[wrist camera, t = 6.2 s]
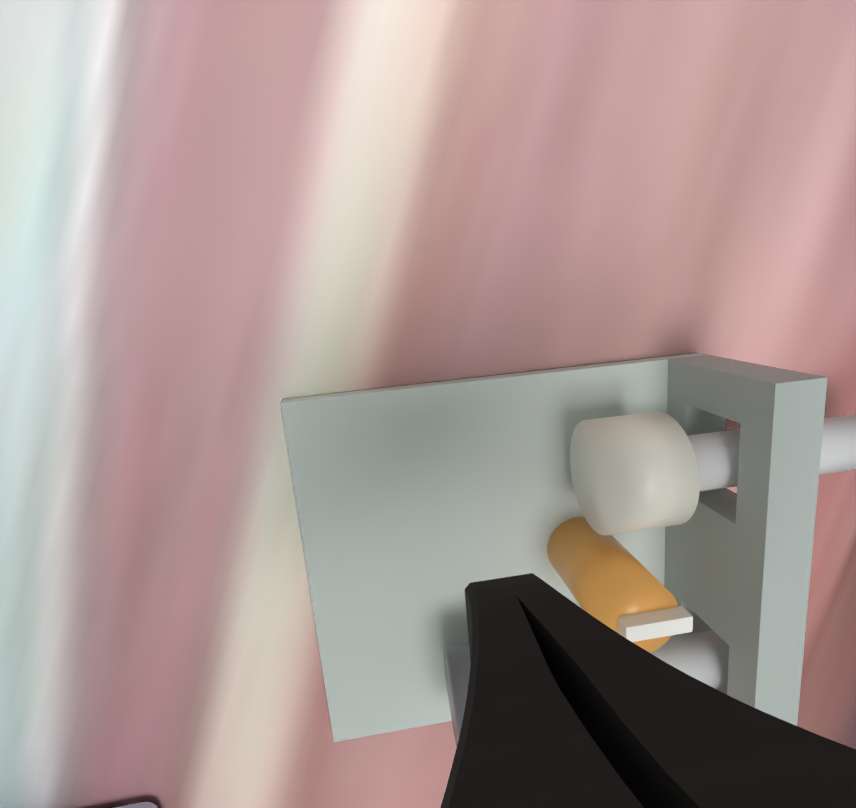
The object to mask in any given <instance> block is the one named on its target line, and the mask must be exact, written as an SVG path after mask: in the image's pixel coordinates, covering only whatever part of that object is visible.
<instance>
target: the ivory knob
mask: <svg viewBox="0 0 856 808" xmlns="http://www.w3.org/2000/svg"><path fill="white" fill-rule="evenodd" d="M739 444H740V429H735V430H727V431H719V432H712V433H704V434H696V435H688V436H687V435H686V433H685V431H684V430H683V428H682V427H681V426H680V425H679V423H678V422H677V421H676V420H675V419H674V418H672V417H671V416H670V415H668V414H666V413H664V412H660V411H655V412H647V413H639V414H630V415H622V416H614V417H606V418H598V419H590V420H583V421H581V422H579V423H578V424H577V425H576V427H575V429H574V431H573V434H572V437H571V443H570V469H571V477H572V482H573V487H574V491H575V495H576V498H577V501H578V504H579V506H580V509H581V511H582V513H583V515H584V517H585V519H586V521H587V522H588V524H589V525H590V526H591V527H592V529H593V530H594V531H596V532H597V533H598V534H600V535H612V534H619V533H625V532H632V531H639V530H646V529H652V528H659V527H666V526H673V525H679V524H683V523H685V522H687V521H688V520H689V519H690V518H691V517H692V515H693V514H694V512H695V510H696V507H697V504H698V500H699V492H700V491H706V490H713V489H720V488H728V487H735V486H737V484H738V464H739ZM855 469H856V414H851V415H843V416H835V417H828V418H824V423H823V435H822V446H821V458H820V469H819V474H826V473H833V472H840V471H848V470H855Z"/></svg>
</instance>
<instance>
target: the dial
mask: <svg viewBox="0 0 856 808" xmlns="http://www.w3.org/2000/svg"><path fill="white" fill-rule="evenodd" d="M547 554H548V558H549V561H550V563H551V564H552V566H553V567H554V569H555V570H556V572H557V573H558V574H559V576H560V577H561V579H562V580H563V582H564V583H565V585H566V586H567V587H568V589H569V590H570V592H571V593H572V595H573V596H574V597H575V599H576V600H577V602H578V603H579V605H580V606H581V608H582V609H583V610H585V611H586V612H587V613H589V614H590V615H592V616H593V617H595V618H596V619H598V620H599V621H600V622H602V623H603V624H605V625H606V626H608V627H609V628H611V629H612V630H614V631H615V632H617V633H619V634H620V635H622V636H623V637H625V638H626V639H628V640H629V641H631V642H633V643H634V644H636V645H638V646H639V647H641V648H643V649H644V650H646V651H648V652H649V653H651V652H653V651H655V650H657V649H658V648H660V647H661V646H662V645H664V644H665V643H666V642H667V641H668V640H669V638H670V637H671V636H672V635H677V634H683V633H689V632H692V631H693V616H692V615H691V614H690V613H689V612H688V611H687V610H686V609H685V608H684V607H683V606H680V607H678V604H677V601H676V599H675V597H674V596H673V595H672V593H671V592H670V591H669V590H668V589H666V588H665V587H664V586H663V585H662V584H661V583H660V582H659V581H658V580H657V579H656V578H655V577H654V576H653V575H652V574H651V573H650V572H649V571H648V570H647V569H646V568H645V567H644V566H643V565H642V564H641V563H640V562H639V561H638V560H637V559H636V558H635V557H634V556H633V555H632V554H631V553H630V552H629V551H628V550H627V549H626V548H625V547H624V546H622V545H621V544H620V543H619V542H618V541H617V540H616V539H615V538H614V537H613V536H612V535H600V534H598V533H597V532H596V531H594V530H593V529H592V527H591V526H590V525H589V524H588V522H587V521H586V519H585V517H575V518H571V519H569V520H567V521H565V522H563V523H561V524H560V525H559V526H558V527H557V528H556V529H555V530H554V531H553V533H552V534H551V536H550V538H549V541H548V546H547Z"/></svg>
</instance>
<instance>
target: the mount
mask: <svg viewBox="0 0 856 808" xmlns="http://www.w3.org/2000/svg"><path fill="white" fill-rule="evenodd" d="M827 378H828V377H823V376H817V375H812V374H807V373H801V372H796V371H791V370H785V369H780V368H775V367H769V366H764V365H759V364H753V363H748V362H743V361H737V360H732V359H727V358H721V357H716V356H711V355H705V354H700V353H692V354H683V355H674V356H665V357H656V358H647V359H638V360H629V361H620V362H611V363H602V364H593V365H584V366H575V367H566V368H557V369H548V370H539V371H530V372H521V373H513V374H504V375H495V376H486V377H477V378H468V379H459V380H450V381H441V382H432V383H423V384H414V385H405V386H396V387H387V388H378V389H369V390H360V391H351V392H342V393H333V394H325V395H316V396H307V397H298V398H289V399H283V400H282V401H281V403H280V405H281V411H282V417H283V423H284V430H285V436H286V442H287V449H288V455H289V461H290V468H291V474H292V480H293V487H294V493H295V499H296V506H297V512H298V518H299V525H300V531H301V537H302V544H303V550H304V556H305V563H306V569H307V575H308V582H309V588H310V594H311V601H312V607H313V613H314V620H315V626H316V632H317V639H318V645H319V651H320V658H321V664H322V670H323V677H324V683H325V689H326V696H327V702H328V708H329V715H330V721H331V727H332V734H333V740H334V742H338V741H343V740H349V739H354V738H360V737H365V736H371V735H376V734H382V733H387V732H393V731H398V730H404V729H409V728H415V727H420V726H426V725H431V724H437V723H442V722H448V721H452V718H451V711H450V705H449V698H448V691H447V683H446V675H445V665H444V647H446V646H452V645H458V644H464V643H469V638H468V626H467V614H466V602H465V590H464V589H465V588H466V587H467V586H468V584H469V583H472V582H478V581H485V580H491V579H497V578H504V577H510V576H517V575H523V574H530V573H533V574H534V575H536V576H537V577H539V578H540V579H542V580H543V581H544V582H546V583H547V584H549V585H550V586H551V587H553V588H554V589H555V590H557V591H558V592H560V593H561V594H562V595H564V596H565V597H566V598H568V599H569V600H571V601H572V602H573V603H575V604H576V605H578V606H579V607H580V608H581V606H580V605H579V603H578V602H577V600H576V599H575V597H574V596H573V595H572V593H571V592H570V590H569V589H568V587H567V586H566V585H565V583H564V582H563V580H562V579H561V577H560V576H559V574H558V573H557V572H556V570H555V569H554V567H553V566H552V564H551V563H550V561H549V558H548V554H547V546H548V541H549V538H550V536H551V534H552V533H553V531H554V530H555V529H556V528H557V527H558V526H559V525H560V524H561V523H563V522H565V521H567V520H569V519H571V518H575V517H584V515H583V513H582V511H581V509H580V506H579V504H578V501H577V498H576V495H575V491H574V487H573V482H572V477H571V469H570V443H571V437H572V434H573V431H574V429H575V427H576V425H577V424H578V423H579V422H581V421H583V420H590V419H598V418H606V417H614V416H622V415H630V414H639V413H647V412H655V411H660V412H664V413H666V414H668V415H670V416H671V417H672V418H674V419H675V420H676V421H677V422H678V423H679V425H680V426H681V427H682V428H683V430H684V431H685V433H686V435H687V436H688V435H696V434H704V433H712V432H719V431H726V419H729V420H732V421H735V422H738V423H741V424H740V444H739V464H738V484H737V494H736V493H734V492H732V491H731V490H729V489H727V488H720V489H713V490H706V491H700V492H699V500H698V504H697V507H696V510H695V512H694V514H693V515H692V517H691V518H690V519H689V520H688V521H687V522H685V523H683V524H679V525H673V526H666V527H659V528H652V529H646V530H639V531H632V532H625V533H619V534H612V536H613V537H614V538H615V539H616V540H617V541H618V542H619V543H620V544H621V545H622V546H624V547H625V548H626V549H627V550H628V551H629V552H630V553H631V554H632V555H633V556H634V557H635V558H636V559H637V560H638V561H639V562H640V563H641V564H642V565H643V566H644V567H645V568H646V569H647V570H648V571H649V572H650V573H651V574H652V575H653V576H654V577H655V578H656V579H657V580H658V581H659V582H660V583H661V584H662V585H663V586H664V587H665V588H666V589H668V590H669V591H670V592H671V593H672V595H673V596H674V597H675V599H676V601H677V604H678V607H680V606H683V607H684V608H685V609H686V610H687V611H688V612H689V613H690V614H691V615H692V616H693V631H692V632H689V633H683V634H677V635H672V636H671V637H674V636H680V635H686V634H692V633H697V632H703V631H709V630H713V631H714V632H715V633H716V634H717V635H718V636H719V637H720V638H722V639H723V640H724V641H725V642H726V643H727V644H728V645H729V665H728V685H727V687H722V688H717V690H719V691H721V692H723V693H725V694H727V695H729V696H731V697H733V698H735V699H737V700H739V701H741V702H743V703H745V704H748V705H750V706H752V707H754V708H756V709H758V710H760V711H763V712H765V713H767V714H770V715H772V716H774V717H777V718H779V719H781V720H784V721H786V722H788V723H791V724H793V725H796V726H797V720H798V709H799V697H800V686H801V674H802V663H803V652H804V640H805V629H806V617H807V606H808V595H809V583H810V572H811V560H812V549H813V538H814V526H815V515H816V503H817V492H818V480H819V469H820V458H821V446H822V435H823V423H824V412H825V401H826V389H827Z"/></svg>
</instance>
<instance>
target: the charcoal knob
mask: <svg viewBox="0 0 856 808" xmlns="http://www.w3.org/2000/svg"><path fill="white" fill-rule="evenodd" d="M651 654H653V655H654V656H656V657H658V658H659V659H661V660H663V661H664V662H666V663H668V664H669V665H671V666H673V667H675V668H677V669H678V670H680V671H682V672H684V673H686V674H687V675H689V676H691V677H693V678H695V679H697V680H699V681H701V682H703V683H705V684H707V685H709V686H711V687H713V688H715V689H717V688H722V687H727V685H728V665H729V645H728V644H727V643H726V642H725V641H724V640H723V639H722V638H720V637H719V636H718V635H717V634H716V633H715V632H714V631H713V630H709V631H703V632H697V633H692V634H686V635H680V636H674V637H670V638H669V640H668V641H667V642H666V643H665V644H664V645H662V646H661V647H660V648H658V649H657V650H655V651H653V652H651ZM444 665H445V675H446V683H447V691H448V698H449V705H450V711H451V718H452V724H453V729H454V735H455V740H456V745H458V740H459V736H460V731H461V726H462V721H463V716H464V711H465V705H466V699H467V691H468V683H469V675H470V666H471V663H470V650H469V643H464V644H458V645H452V646H446V647H444Z"/></svg>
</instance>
